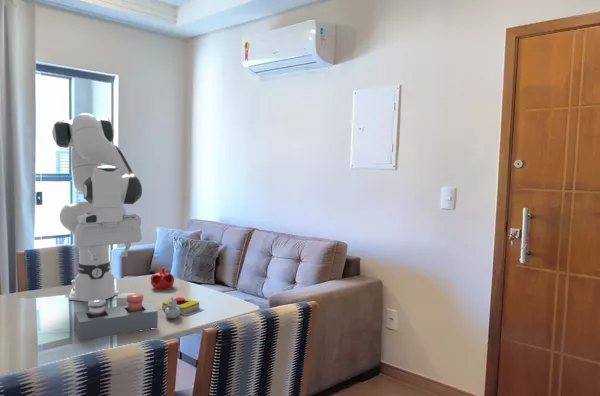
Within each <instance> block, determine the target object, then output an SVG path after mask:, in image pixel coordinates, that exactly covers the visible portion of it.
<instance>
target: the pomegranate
mask: <svg viewBox="0 0 600 396" xmlns="http://www.w3.org/2000/svg"><path fill="white" fill-rule="evenodd" d="M165 268H166V267H162V270H161V269H157V270H156V271H155V272H154V273H153V274H152V275H151V276H150V284H151V286H152V288H154V289H155V290H157V291H158V290H159V291H161V290H169V289H171V288H172V287H173V286H174V283H175V277H174V275H173V274H172V273H169V272H171V270H166V269H165Z"/></svg>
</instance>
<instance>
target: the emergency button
mask: <svg viewBox="0 0 600 396" xmlns="http://www.w3.org/2000/svg"><path fill="white" fill-rule="evenodd" d="M174 299H175V300H176V301H177V305H179V309H180V314H182V315H181V316H184V315H185V316H184V317H188V316H192V315H195V314H197V313H200V312H203V311H204V308H200V301H197V300H193V299H188V298H185V297H175V298H173V300H174ZM169 300H170V299H169ZM169 300H165V301H163V302H162V307H160V308H162V310H161V311H165V310H166V308H168V302H169Z"/></svg>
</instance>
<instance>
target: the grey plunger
mask: <svg viewBox="0 0 600 396" xmlns="http://www.w3.org/2000/svg"><path fill="white" fill-rule="evenodd" d="M106 300H107V299H102V298H97V299H91V300H89V301H87V306H88V308H89V310H90V317H91V318H95V317H102V316H104V308H105V306H106V305H107V304H106V303H107V302H106Z"/></svg>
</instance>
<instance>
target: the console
mask: <svg viewBox="0 0 600 396" xmlns="http://www.w3.org/2000/svg"><path fill="white" fill-rule="evenodd" d="M73 315H74V316H73V318H74V320H73V321H74V323H73V324H74V326H73V327H74V332H75V335H76V337H77V339H78V341H79V342H84V341H89V340H90V341H91V340H96V339H101V338H102V339H103V338H108V337H115V336H120V335H126V334H125V333H127V334H130V333H129V332H133V333H136V332H135V331H139V332H141V331H140V330H145V331H147V330H146V329H151V328H157V329H158V320H159V319H158V318H159V317H158V310H157V309H156V308H155V306H153V305H152V304H151V303H150V302H142V311H137V312H128V305H125V306H117V305H116V306H110V307H104V316H102V317H95V318H91V317H90V309H88V310H82V311H74V314H73ZM151 330H152V329H151Z"/></svg>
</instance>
